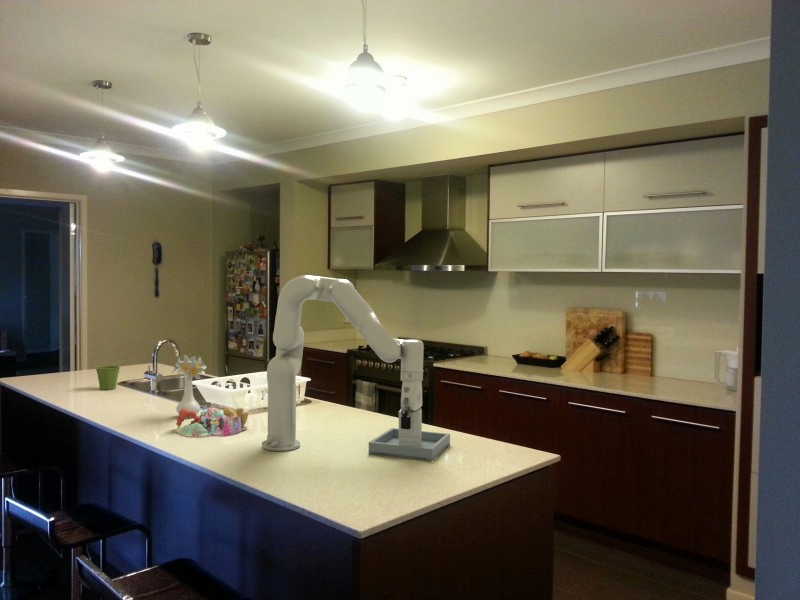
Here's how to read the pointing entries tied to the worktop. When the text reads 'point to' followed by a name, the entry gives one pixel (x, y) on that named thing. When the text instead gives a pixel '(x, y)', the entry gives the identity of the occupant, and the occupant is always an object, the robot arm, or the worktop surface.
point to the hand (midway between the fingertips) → (410, 425)
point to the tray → (390, 446)
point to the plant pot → (107, 376)
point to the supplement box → (412, 430)
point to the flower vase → (189, 381)
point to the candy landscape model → (212, 422)
